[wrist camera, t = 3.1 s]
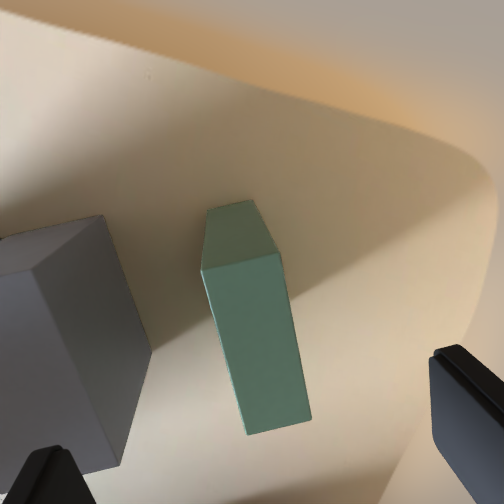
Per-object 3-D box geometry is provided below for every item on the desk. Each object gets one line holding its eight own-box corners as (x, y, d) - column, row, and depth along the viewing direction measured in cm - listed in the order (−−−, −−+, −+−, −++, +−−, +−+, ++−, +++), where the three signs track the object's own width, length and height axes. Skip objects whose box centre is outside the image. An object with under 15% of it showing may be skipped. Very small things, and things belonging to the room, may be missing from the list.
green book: (252, 199, 20) (280, 251, 11) (275, 309, 22) (312, 420, 14) (206, 209, 20) (199, 270, 11) (234, 319, 22) (246, 436, 14)
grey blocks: (102, 214, 19) (31, 268, 12) (152, 352, 22) (120, 466, 15) (-92, 258, 19) (-291, 341, 12) (-16, 392, 22) (-135, 527, 15)
